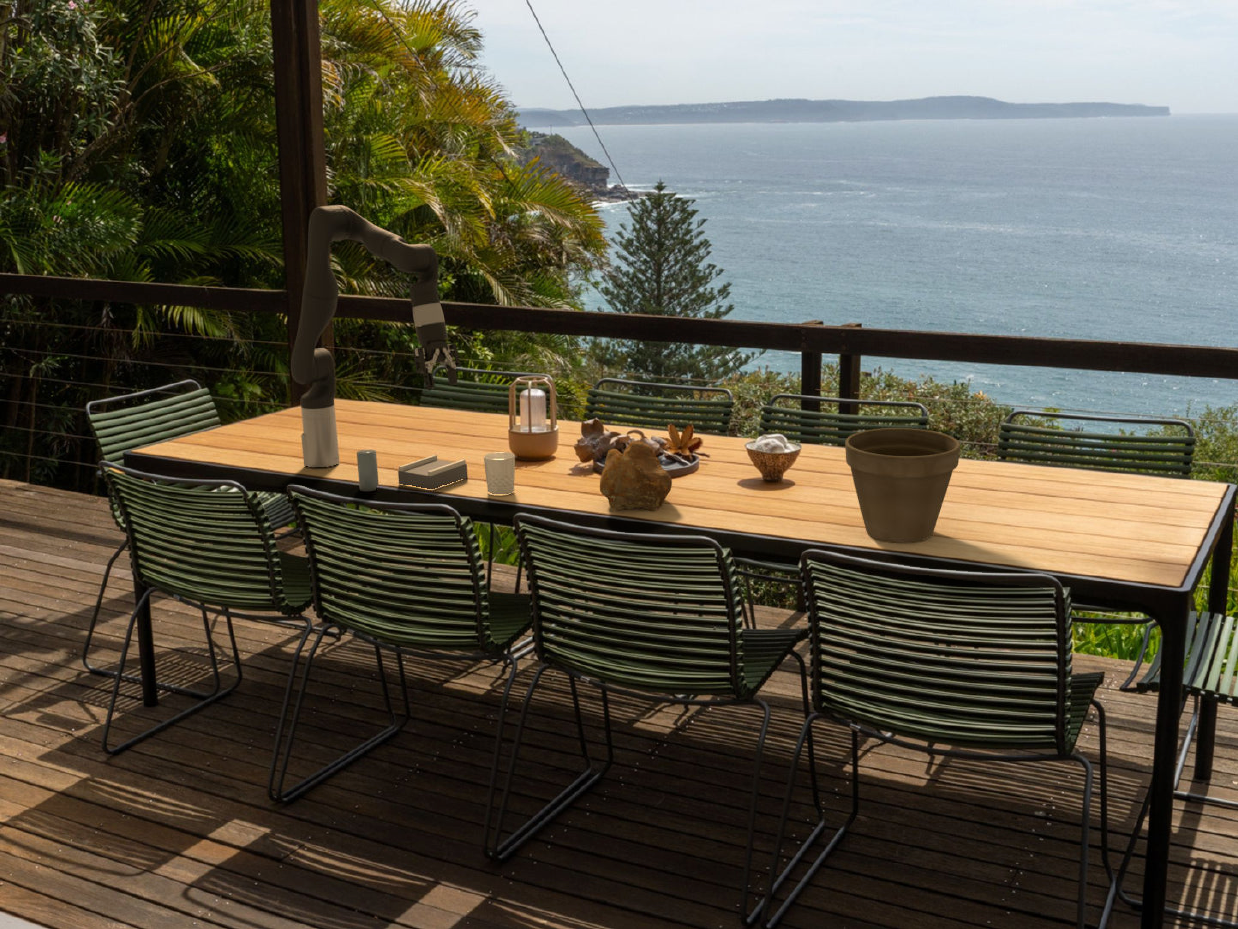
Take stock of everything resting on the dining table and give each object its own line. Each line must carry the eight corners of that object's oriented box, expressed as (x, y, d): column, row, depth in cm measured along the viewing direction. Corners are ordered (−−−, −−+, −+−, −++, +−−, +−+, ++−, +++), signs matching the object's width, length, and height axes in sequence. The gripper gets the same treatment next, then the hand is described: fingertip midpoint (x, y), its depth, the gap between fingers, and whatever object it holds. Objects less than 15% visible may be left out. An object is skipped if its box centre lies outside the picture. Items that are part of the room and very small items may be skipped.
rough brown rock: (653, 525, 283) (658, 464, 279) (589, 512, 289) (593, 453, 285) (685, 501, 304) (690, 444, 300) (625, 490, 310) (629, 434, 306)
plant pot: (921, 559, 253) (926, 460, 247) (822, 537, 269) (823, 443, 263) (975, 530, 271) (980, 437, 265) (878, 510, 287) (881, 422, 281)
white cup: (492, 499, 304) (490, 461, 302) (481, 491, 311) (479, 454, 309) (521, 494, 308) (519, 456, 305) (509, 487, 315) (507, 450, 312)
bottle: (357, 491, 314) (354, 454, 312) (362, 486, 319) (359, 449, 317) (376, 491, 314) (373, 454, 311) (380, 485, 319) (378, 449, 316)
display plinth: (432, 491, 313) (431, 472, 311) (399, 485, 319) (397, 466, 318) (467, 478, 324) (466, 459, 322) (434, 472, 330) (433, 454, 329)
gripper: (437, 323, 309) (450, 385, 310) (399, 327, 297) (412, 392, 298) (459, 318, 305) (471, 381, 306) (421, 322, 293) (434, 387, 294)
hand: (442, 386), depth 302 cm, fingers open, 8 cm apart
